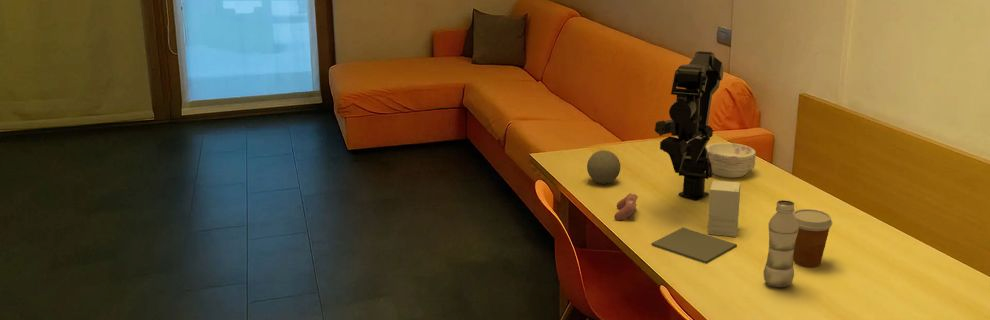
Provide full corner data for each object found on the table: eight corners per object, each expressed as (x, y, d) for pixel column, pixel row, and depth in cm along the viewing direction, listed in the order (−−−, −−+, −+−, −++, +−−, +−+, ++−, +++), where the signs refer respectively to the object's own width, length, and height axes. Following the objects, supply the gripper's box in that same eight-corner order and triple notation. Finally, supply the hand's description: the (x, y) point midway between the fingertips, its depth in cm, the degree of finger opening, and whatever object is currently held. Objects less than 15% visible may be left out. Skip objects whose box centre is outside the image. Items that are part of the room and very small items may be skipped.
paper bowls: (760, 170, 282) (762, 146, 279) (745, 184, 269) (746, 159, 267) (713, 162, 289) (714, 138, 287) (696, 176, 277) (697, 151, 275)
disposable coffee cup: (807, 273, 212) (812, 226, 208) (777, 258, 220) (782, 212, 216) (836, 265, 216) (841, 218, 212) (806, 250, 224) (811, 205, 220)
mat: (682, 229, 237) (682, 227, 237) (736, 246, 227) (736, 244, 226) (651, 245, 228) (651, 243, 228) (706, 263, 217) (706, 261, 217)
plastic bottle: (758, 279, 209) (765, 198, 203) (786, 277, 210) (794, 197, 203) (768, 291, 203) (776, 208, 197) (797, 290, 203) (806, 207, 197)
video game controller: (627, 227, 244) (640, 206, 241) (612, 219, 244) (625, 198, 241) (629, 213, 253) (642, 193, 250) (615, 205, 253) (627, 185, 250)
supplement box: (738, 227, 239) (741, 182, 235) (735, 237, 232) (739, 191, 228) (709, 223, 241) (712, 179, 237) (706, 234, 234) (709, 188, 230)
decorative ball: (580, 184, 271) (581, 152, 268) (596, 175, 279) (596, 144, 276) (610, 190, 266) (611, 158, 263) (625, 180, 274) (626, 149, 271)
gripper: (678, 100, 251) (676, 153, 257) (643, 116, 238) (641, 171, 243) (715, 106, 245) (711, 160, 250) (681, 123, 231) (678, 180, 236)
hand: (685, 167), depth 245 cm, fingers open, 9 cm apart
